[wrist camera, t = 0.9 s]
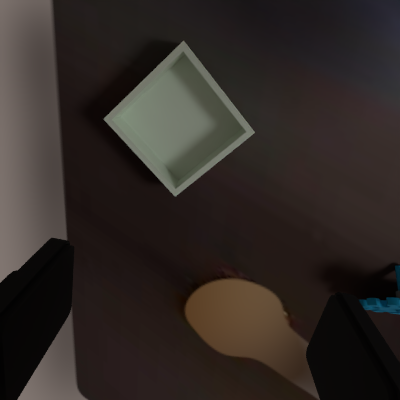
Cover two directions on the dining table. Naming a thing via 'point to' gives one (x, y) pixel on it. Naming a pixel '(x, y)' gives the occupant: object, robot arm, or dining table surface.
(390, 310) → the blue plastic angled piece
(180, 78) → the bin
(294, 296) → the dining table surface
